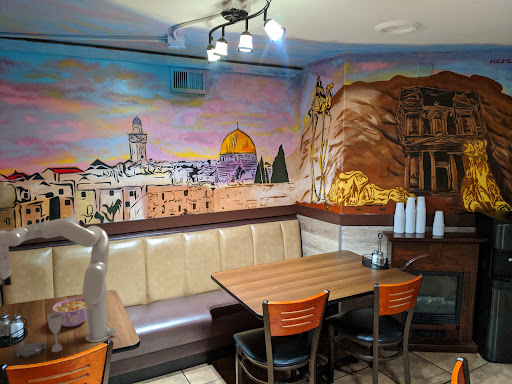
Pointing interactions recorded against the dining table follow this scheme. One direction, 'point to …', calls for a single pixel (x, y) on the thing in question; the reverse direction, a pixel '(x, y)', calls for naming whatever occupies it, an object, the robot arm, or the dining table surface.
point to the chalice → (55, 328)
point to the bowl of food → (72, 311)
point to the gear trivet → (31, 349)
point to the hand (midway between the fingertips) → (3, 288)
